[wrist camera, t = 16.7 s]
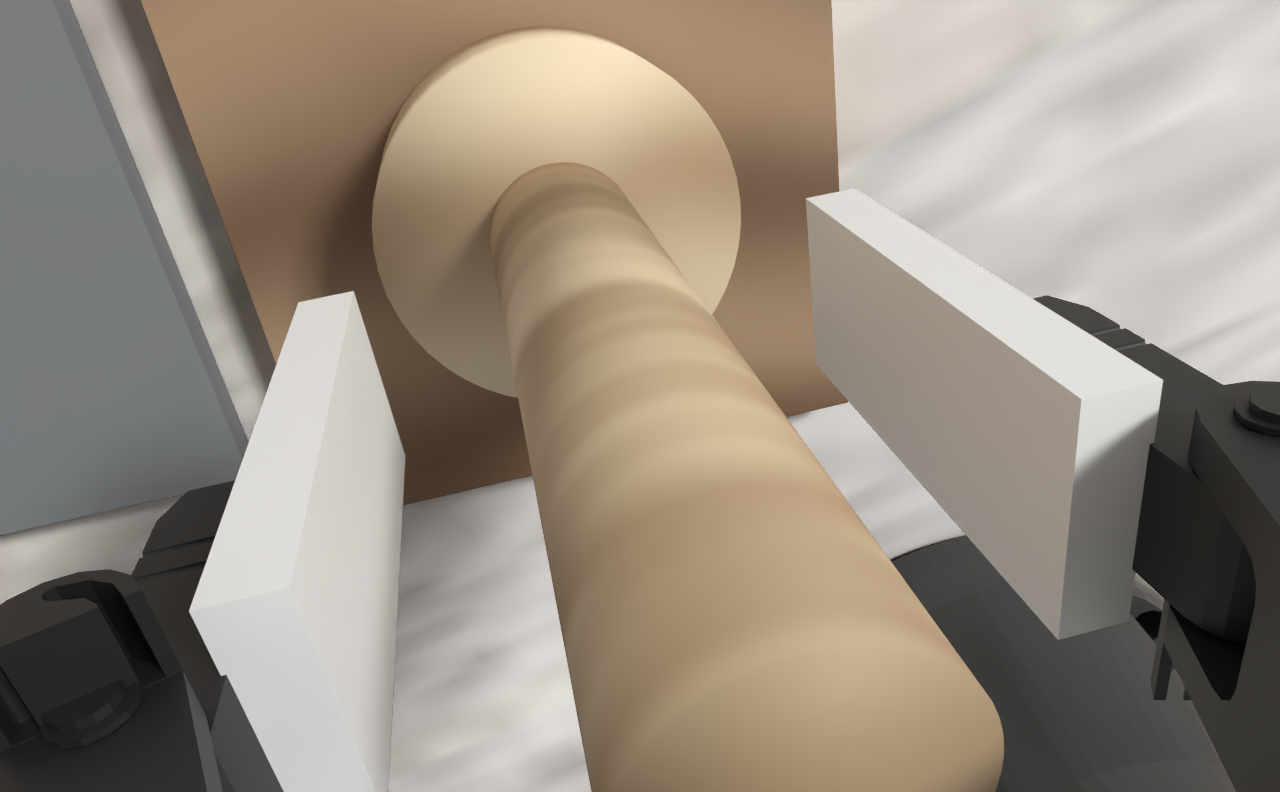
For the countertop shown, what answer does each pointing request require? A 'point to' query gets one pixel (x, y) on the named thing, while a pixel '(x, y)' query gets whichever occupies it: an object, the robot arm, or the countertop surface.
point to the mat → (90, 302)
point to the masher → (659, 436)
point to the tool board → (358, 130)
